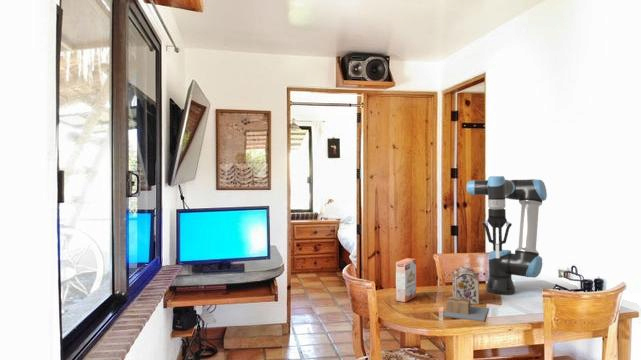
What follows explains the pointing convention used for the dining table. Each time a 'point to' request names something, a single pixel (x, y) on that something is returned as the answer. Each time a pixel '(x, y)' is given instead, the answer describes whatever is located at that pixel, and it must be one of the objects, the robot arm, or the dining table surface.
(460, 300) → the walnut block
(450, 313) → the rubber mat
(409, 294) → the cracker box
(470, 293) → the decorative jar
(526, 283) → the dining table surface
